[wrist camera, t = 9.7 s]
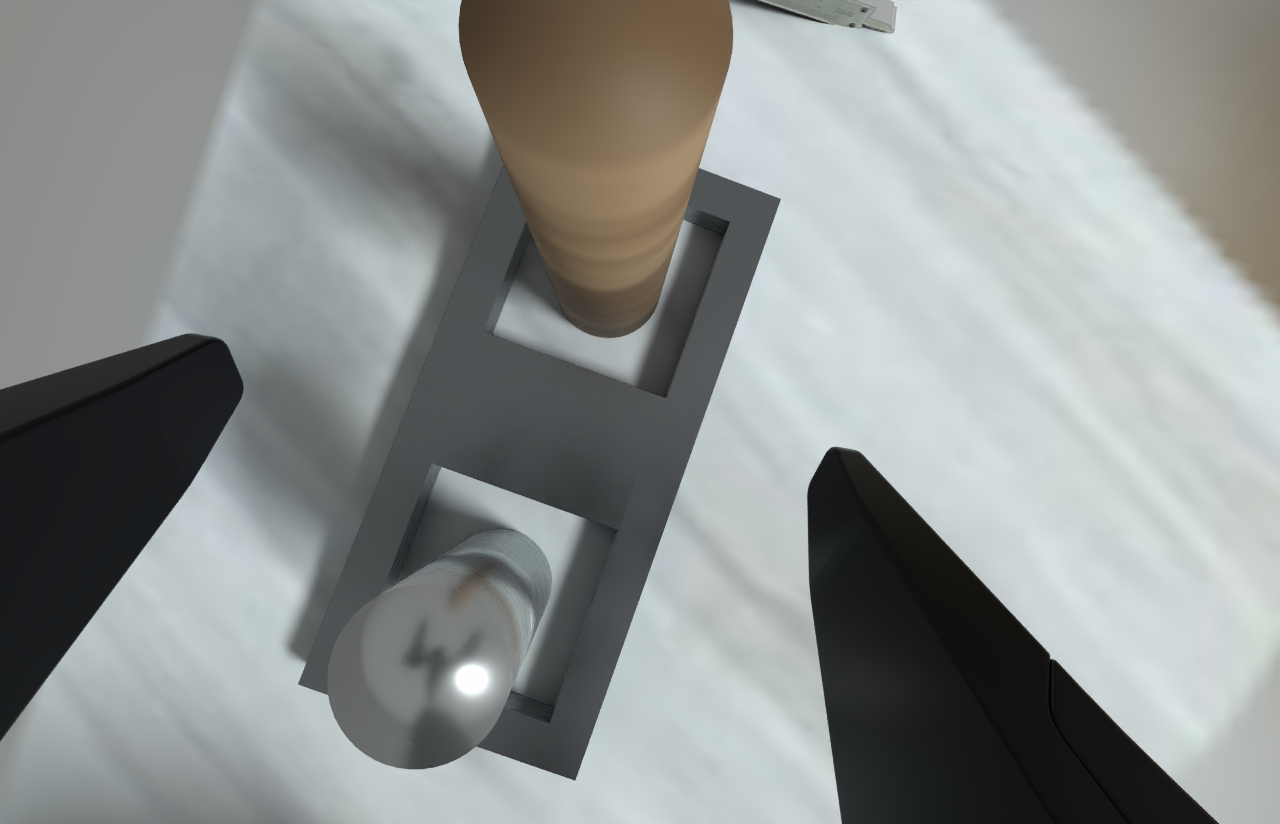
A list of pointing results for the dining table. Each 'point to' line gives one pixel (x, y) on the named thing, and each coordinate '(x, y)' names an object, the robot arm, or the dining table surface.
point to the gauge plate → (552, 451)
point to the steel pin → (439, 651)
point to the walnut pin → (600, 134)
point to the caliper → (843, 12)
